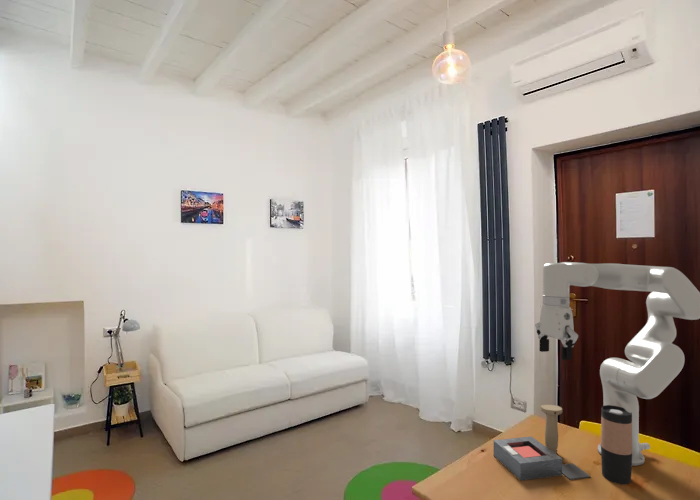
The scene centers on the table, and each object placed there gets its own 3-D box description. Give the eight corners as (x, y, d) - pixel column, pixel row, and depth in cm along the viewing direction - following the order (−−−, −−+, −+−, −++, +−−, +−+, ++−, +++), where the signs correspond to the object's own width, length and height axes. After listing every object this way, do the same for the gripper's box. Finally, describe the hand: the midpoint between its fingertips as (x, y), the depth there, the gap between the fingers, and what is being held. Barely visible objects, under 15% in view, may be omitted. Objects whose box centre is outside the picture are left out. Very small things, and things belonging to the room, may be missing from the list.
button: (528, 449, 124) (528, 445, 124) (541, 459, 119) (541, 455, 119) (511, 451, 123) (511, 447, 123) (523, 461, 117) (523, 457, 117)
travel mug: (598, 477, 114) (598, 410, 114) (603, 467, 120) (603, 402, 120) (630, 488, 109) (630, 418, 109) (633, 477, 115) (634, 409, 115)
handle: (565, 456, 126) (565, 410, 126) (545, 456, 126) (545, 410, 126) (557, 448, 131) (557, 404, 131) (538, 448, 131) (538, 404, 131)
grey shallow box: (531, 451, 129) (531, 435, 129) (562, 475, 115) (562, 457, 115) (493, 455, 126) (493, 439, 126) (520, 480, 113) (520, 462, 113)
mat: (572, 464, 121) (572, 463, 121) (590, 477, 114) (590, 475, 114) (552, 466, 120) (552, 465, 120) (569, 479, 113) (569, 478, 113)
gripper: (587, 305, 115) (587, 362, 115) (546, 298, 132) (546, 348, 132) (566, 305, 114) (565, 363, 114) (527, 298, 131) (526, 349, 131)
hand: (555, 355), depth 123 cm, fingers open, 9 cm apart
